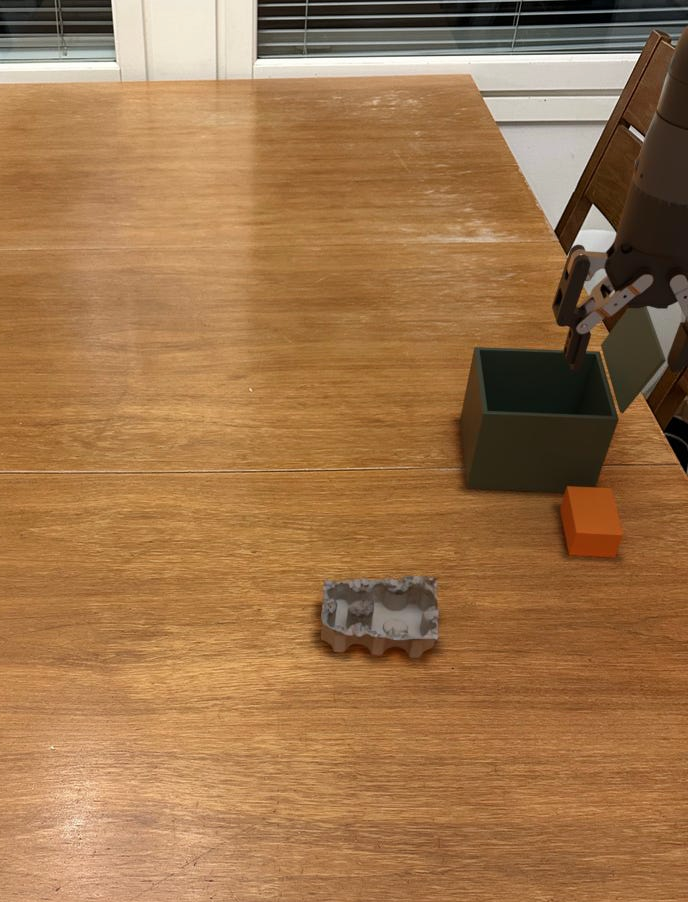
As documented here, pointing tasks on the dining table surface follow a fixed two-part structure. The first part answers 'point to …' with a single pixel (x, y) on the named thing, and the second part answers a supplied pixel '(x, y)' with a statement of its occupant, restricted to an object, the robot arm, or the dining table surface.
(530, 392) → the dark green box
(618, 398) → the flap
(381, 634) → the egg carton
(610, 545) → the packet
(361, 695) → the dining table surface
